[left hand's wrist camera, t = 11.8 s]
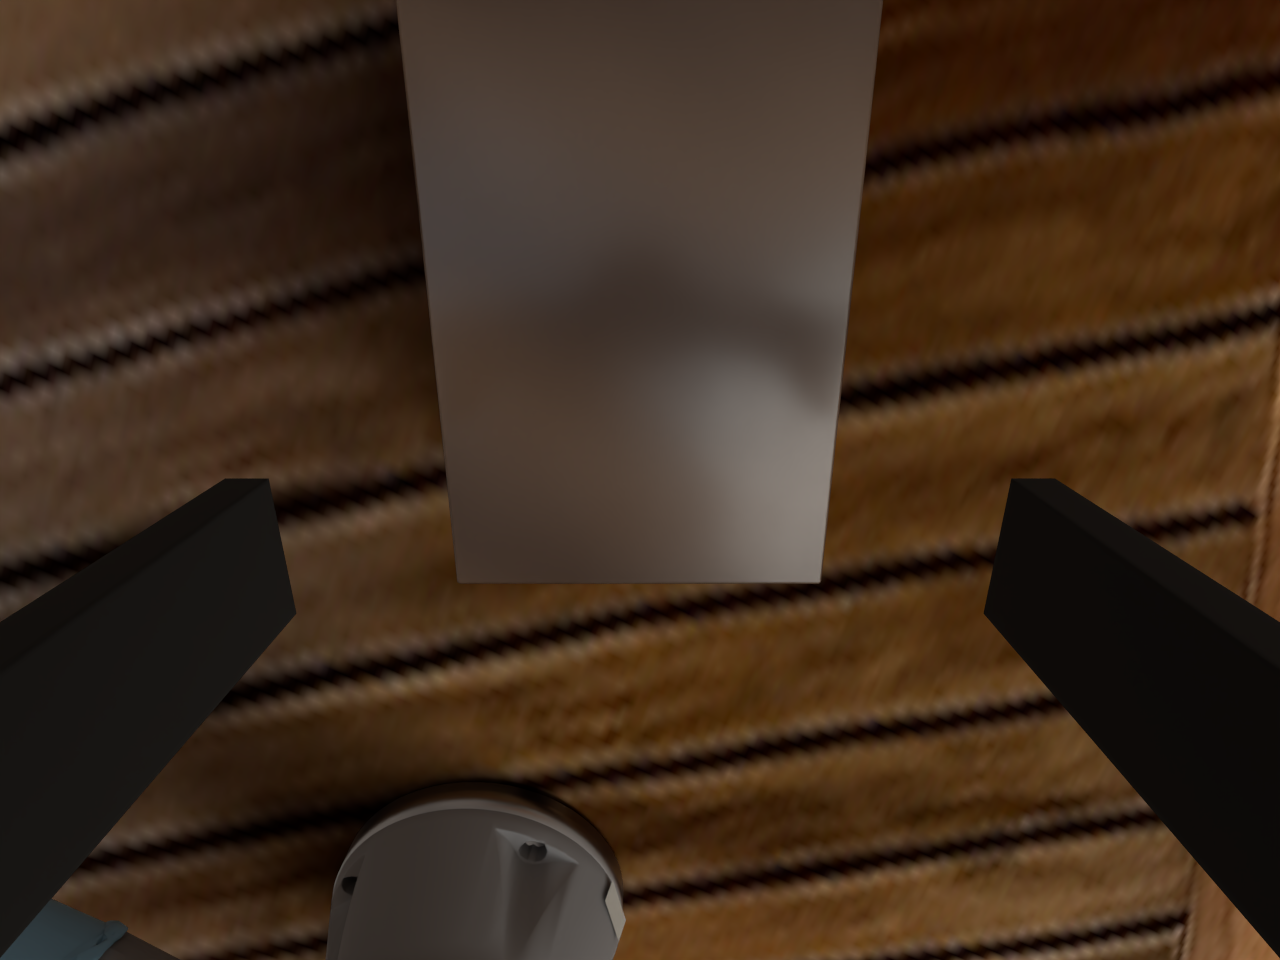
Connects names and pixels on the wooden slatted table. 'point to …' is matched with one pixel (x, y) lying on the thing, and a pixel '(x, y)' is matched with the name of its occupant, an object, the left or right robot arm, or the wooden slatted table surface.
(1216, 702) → the left robot arm
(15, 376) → the wooden slatted table surface
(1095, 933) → the wooden slatted table surface
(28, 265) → the wooden slatted table surface
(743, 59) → the cabinet
